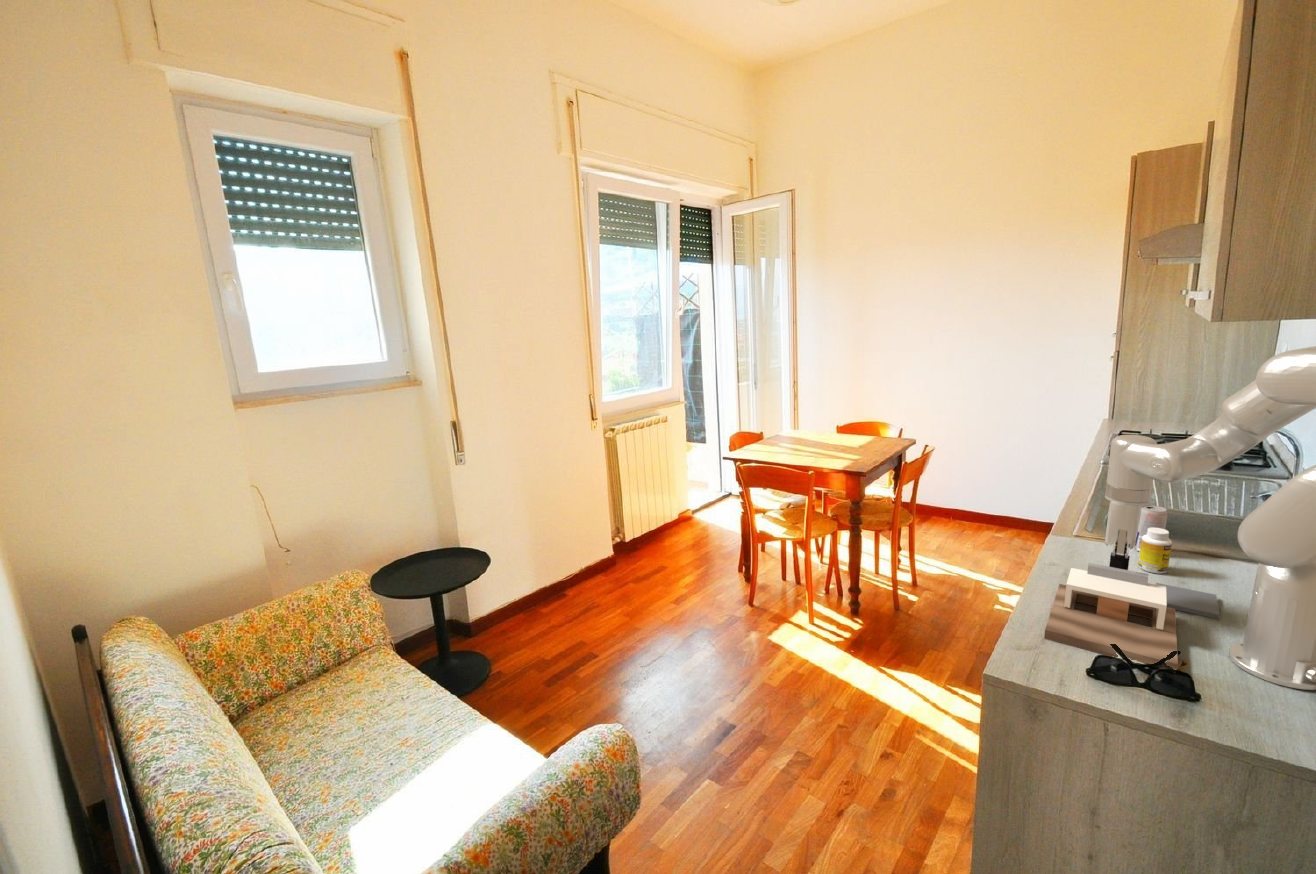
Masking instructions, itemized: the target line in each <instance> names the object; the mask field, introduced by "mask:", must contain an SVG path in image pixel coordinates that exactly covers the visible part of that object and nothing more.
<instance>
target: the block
mask: <svg viewBox="0 0 1316 874" xmlns="http://www.w3.org/2000/svg"><path fill="white" fill-rule="evenodd" d="M1128 609H1129V602H1126V601H1122V600H1117V599H1112V598H1108V597H1103V596H1099V597H1098V606H1096V614H1097V615H1101V616H1105V617H1109V618H1114V619H1118V620H1122V621H1126V622H1128V617H1129V616H1128V615H1129V613H1128Z"/></svg>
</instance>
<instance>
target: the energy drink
mask: <svg viewBox="0 0 1316 874" xmlns="http://www.w3.org/2000/svg"><path fill="white" fill-rule="evenodd" d="M1167 520H1168V511H1167V509H1166V508H1165V507H1163V506H1160V505H1154V504H1147V505H1142V510H1141V517H1140V523H1139V528H1138V533H1137V537H1136V540H1135V544H1134V549H1135V551H1136V552H1137V551H1139V552H1140V548H1141V541H1142V537H1143V536H1144V535H1146V534H1147V530H1148V528H1161V529H1165V530H1166V527H1167ZM1139 552H1138V553H1139Z"/></svg>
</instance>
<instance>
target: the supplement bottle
mask: <svg viewBox="0 0 1316 874" xmlns="http://www.w3.org/2000/svg"><path fill="white" fill-rule="evenodd" d="M1169 535H1170V532H1169V530H1168V529H1166V528H1165V529H1161V528H1148V530H1147V534H1146V535H1144V536H1143V537H1142V541H1141V548H1140V553H1139V557H1138V562H1137V564H1138V565H1137V566H1138V568H1140V569H1141V570H1142V571H1145V572H1147V573H1153V574H1166V573H1167V572H1168V570H1169V565H1170V558H1171V552H1172V546H1173V540H1171V539H1170V538H1169V537H1170V536H1169Z"/></svg>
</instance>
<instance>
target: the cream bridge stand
mask: <svg viewBox="0 0 1316 874" xmlns="http://www.w3.org/2000/svg"><path fill="white" fill-rule="evenodd" d="M1148 581H1149V573H1143V572H1138V571H1134V570H1129V569H1128V570H1124V569H1119V568H1113V567H1109V565H1101V564H1098V563H1091V562H1088V565H1087V570H1084V569H1080V568H1074V567H1071V568H1070V571H1069V574H1068V578H1067V581H1066V593H1065V603H1064V607H1068V608H1070V605H1071V601H1072V598H1073V594H1074V590H1076V591H1081V592H1085V593H1090V594H1094V595H1099V596H1103V597H1108V598H1112V599H1117V600H1122V601H1126V602H1131V603H1135V604H1140V605H1144V606H1149V607H1154V608H1156V628H1157V629H1161V630H1163V626H1164V620H1165V613H1166V607H1167V599H1166V587H1165V586H1160V585H1156V583H1154V584H1153V583H1149V582H1148Z"/></svg>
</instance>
